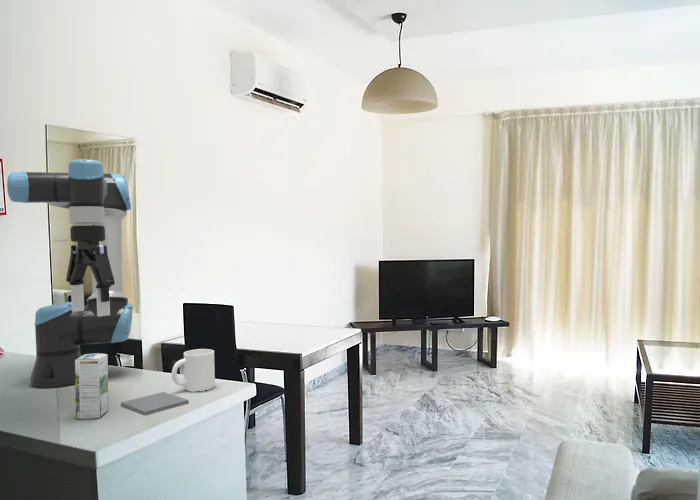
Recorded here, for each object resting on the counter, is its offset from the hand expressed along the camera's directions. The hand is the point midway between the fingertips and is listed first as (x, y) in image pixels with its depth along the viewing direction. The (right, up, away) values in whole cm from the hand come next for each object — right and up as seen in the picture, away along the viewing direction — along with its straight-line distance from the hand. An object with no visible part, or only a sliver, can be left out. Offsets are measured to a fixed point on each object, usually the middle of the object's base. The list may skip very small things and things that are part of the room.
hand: (90, 313), depth 134 cm
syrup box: (0, -25, +1) cm, 25 cm away
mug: (+19, -24, +22) cm, 37 cm away
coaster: (+12, -24, +9) cm, 29 cm away
